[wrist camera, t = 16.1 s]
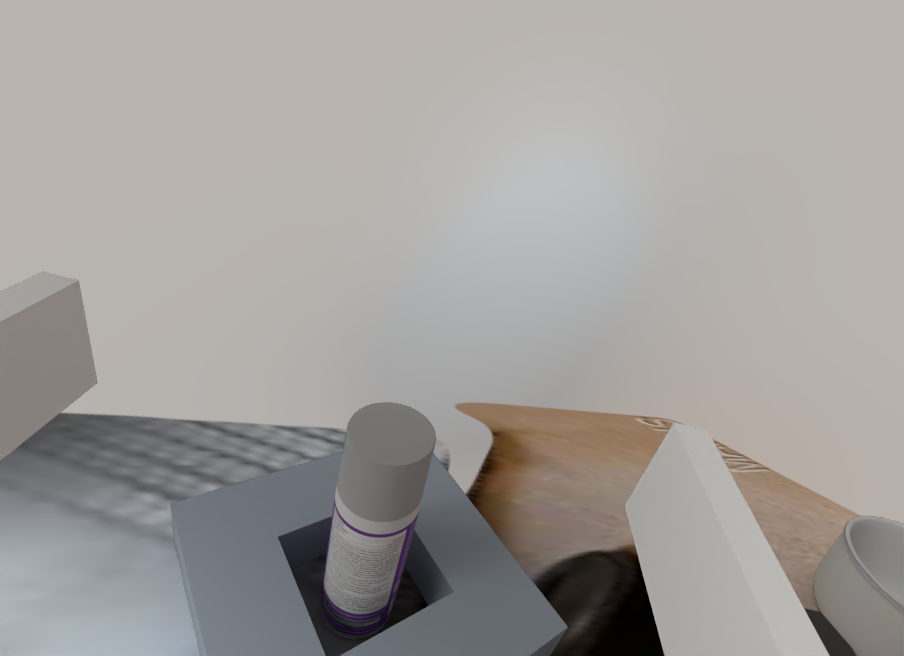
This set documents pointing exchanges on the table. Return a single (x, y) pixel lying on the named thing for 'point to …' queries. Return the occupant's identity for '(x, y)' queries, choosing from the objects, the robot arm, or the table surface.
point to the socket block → (306, 537)
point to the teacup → (865, 586)
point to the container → (374, 516)
